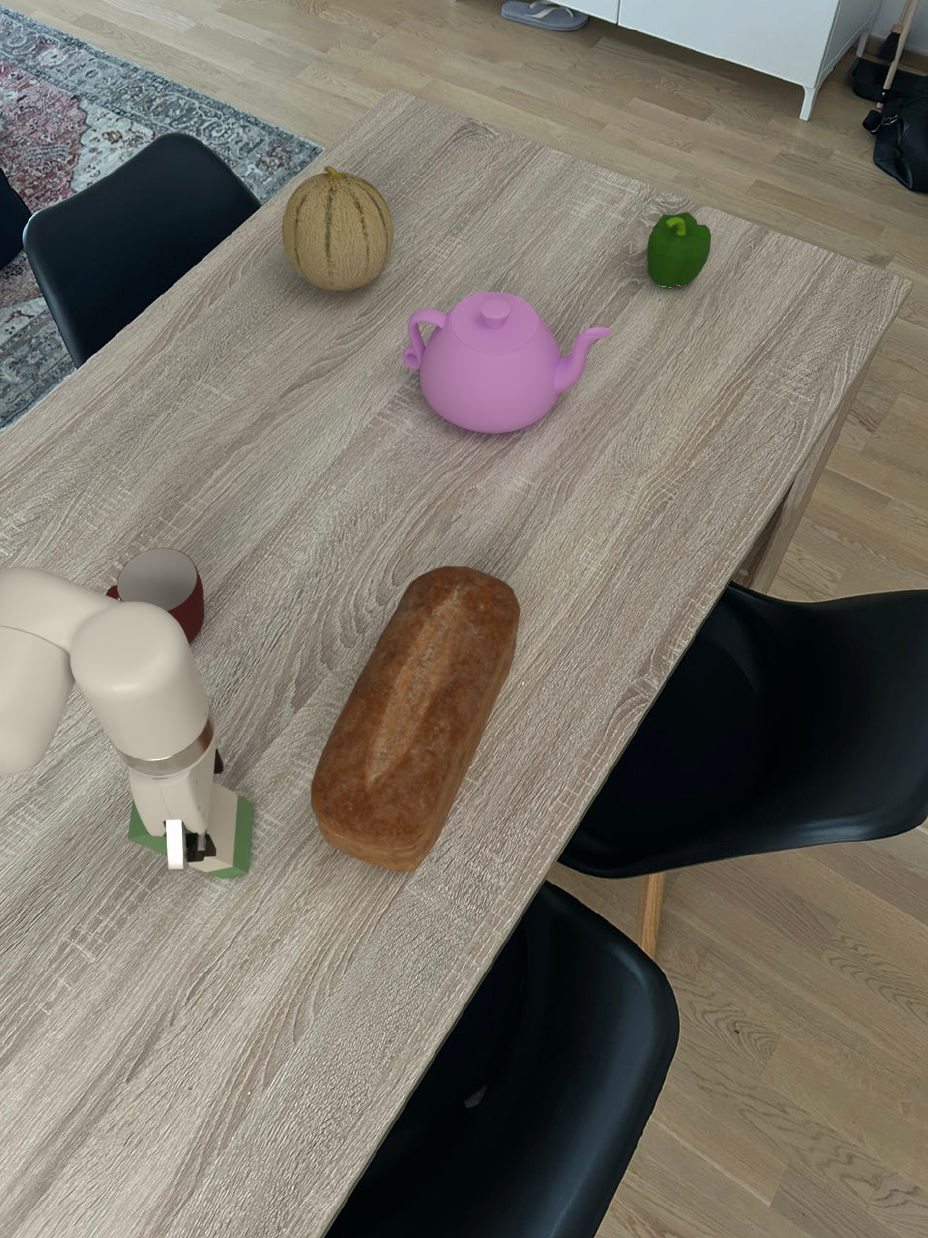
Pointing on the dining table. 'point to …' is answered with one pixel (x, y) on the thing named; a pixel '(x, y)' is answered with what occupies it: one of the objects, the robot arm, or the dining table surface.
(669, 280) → the bell pepper
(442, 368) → the teapot
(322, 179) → the cantaloupe
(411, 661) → the bread
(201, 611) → the mug
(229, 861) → the block
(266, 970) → the dining table surface
